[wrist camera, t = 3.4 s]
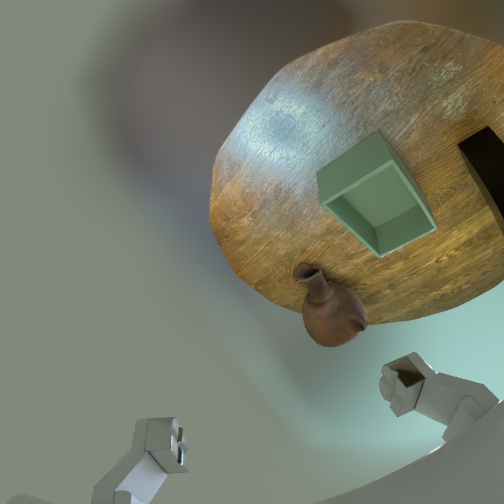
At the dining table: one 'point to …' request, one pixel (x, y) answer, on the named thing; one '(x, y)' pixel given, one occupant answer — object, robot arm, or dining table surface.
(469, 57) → the dining table surface
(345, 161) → the tray
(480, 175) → the stand
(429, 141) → the dining table surface
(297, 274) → the jug
